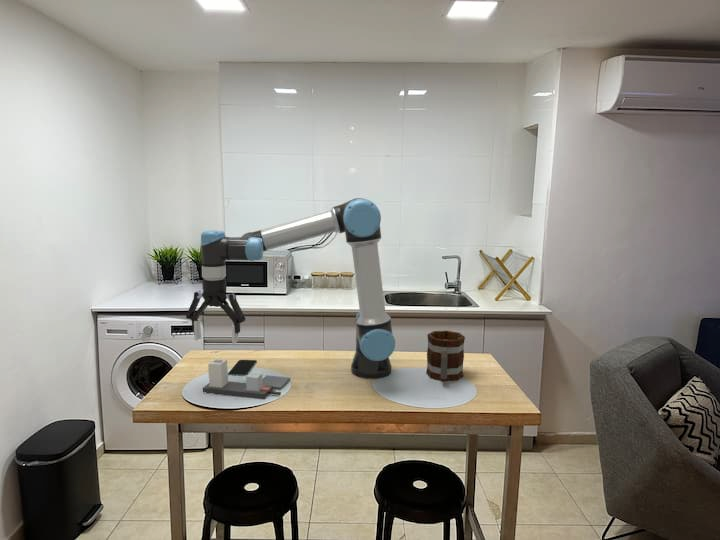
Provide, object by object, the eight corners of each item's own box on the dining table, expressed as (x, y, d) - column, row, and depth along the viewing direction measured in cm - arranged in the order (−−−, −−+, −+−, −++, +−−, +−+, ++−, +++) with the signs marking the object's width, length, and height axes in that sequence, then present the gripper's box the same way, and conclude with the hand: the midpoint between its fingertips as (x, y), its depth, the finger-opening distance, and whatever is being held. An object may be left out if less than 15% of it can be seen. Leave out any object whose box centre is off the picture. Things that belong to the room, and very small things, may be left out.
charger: (228, 382, 170) (227, 358, 169) (221, 387, 166) (220, 363, 165) (216, 381, 171) (214, 357, 170) (209, 386, 167) (208, 362, 165)
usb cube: (262, 386, 167) (262, 373, 167) (257, 390, 164) (257, 377, 163) (251, 384, 168) (251, 372, 167) (246, 389, 164) (246, 376, 164)
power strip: (284, 391, 168) (284, 385, 167) (276, 400, 161) (276, 394, 161) (213, 384, 173) (213, 378, 173) (203, 392, 166) (202, 386, 166)
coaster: (290, 380, 178) (290, 377, 178) (281, 390, 169) (280, 387, 169) (266, 377, 180) (266, 375, 179) (256, 387, 171) (256, 385, 171)
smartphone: (226, 374, 182) (239, 359, 196) (226, 376, 182) (239, 361, 197) (246, 374, 181) (257, 360, 196) (246, 377, 181) (257, 362, 196)
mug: (427, 366, 192) (428, 329, 189) (463, 369, 189) (465, 331, 187) (423, 386, 173) (424, 345, 170) (463, 390, 170) (464, 348, 168)
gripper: (254, 278, 163) (256, 340, 167) (185, 274, 169) (188, 334, 172) (244, 282, 156) (246, 347, 160) (173, 278, 161) (176, 341, 165)
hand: (216, 340), depth 166 cm, fingers open, 13 cm apart
